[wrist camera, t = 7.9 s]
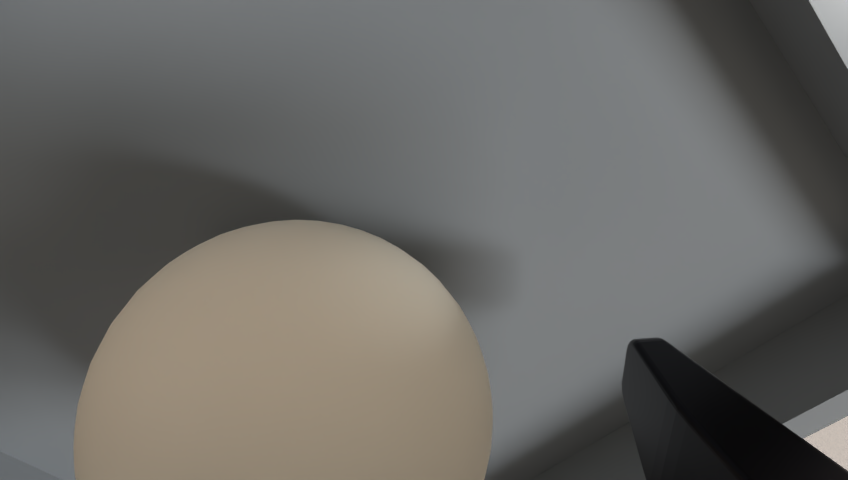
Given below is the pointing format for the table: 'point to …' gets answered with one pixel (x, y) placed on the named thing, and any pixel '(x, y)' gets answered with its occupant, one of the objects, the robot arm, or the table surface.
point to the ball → (287, 367)
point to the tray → (445, 189)
